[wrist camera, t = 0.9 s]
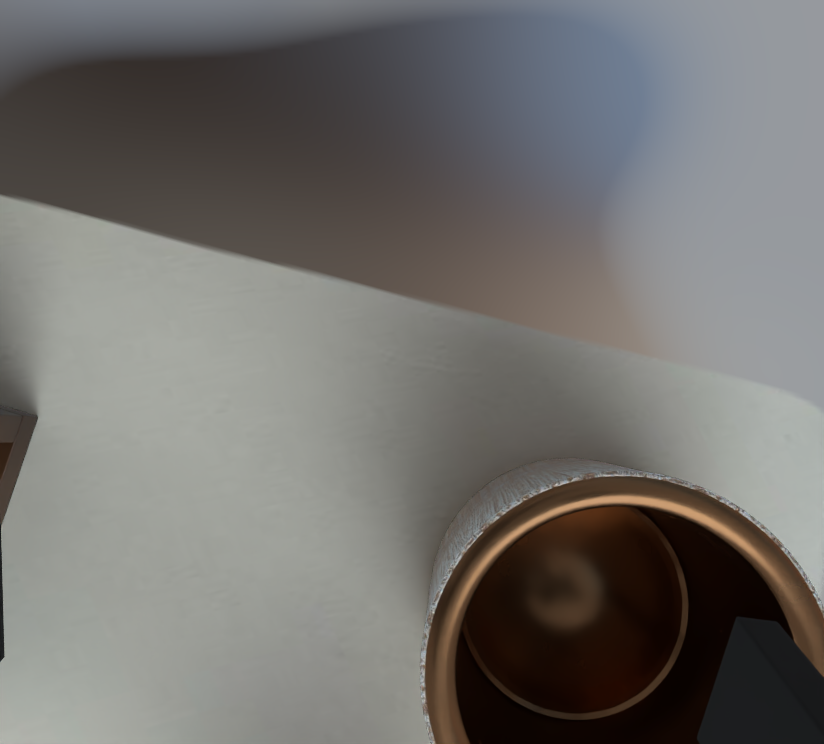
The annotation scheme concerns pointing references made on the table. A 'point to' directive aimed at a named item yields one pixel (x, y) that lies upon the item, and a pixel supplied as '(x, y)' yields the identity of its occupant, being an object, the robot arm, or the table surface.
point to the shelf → (12, 449)
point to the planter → (597, 607)
